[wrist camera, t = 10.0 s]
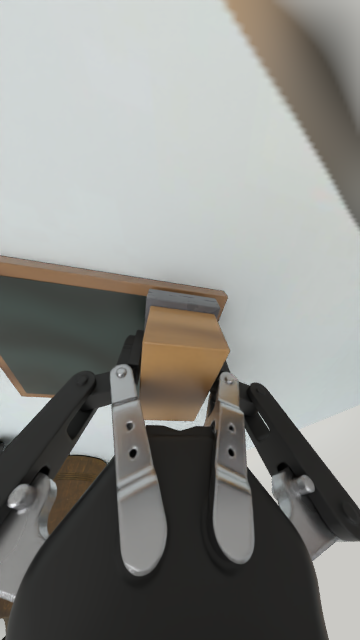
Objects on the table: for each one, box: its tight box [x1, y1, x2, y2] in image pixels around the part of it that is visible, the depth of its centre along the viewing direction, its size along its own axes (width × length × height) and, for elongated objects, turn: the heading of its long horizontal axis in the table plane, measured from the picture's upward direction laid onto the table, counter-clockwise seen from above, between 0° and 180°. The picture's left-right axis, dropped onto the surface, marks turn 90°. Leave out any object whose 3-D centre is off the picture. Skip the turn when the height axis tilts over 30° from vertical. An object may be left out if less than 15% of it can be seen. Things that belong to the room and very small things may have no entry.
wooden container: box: [0, 456, 106, 640], centre depth 32 cm, size 15×15×22 cm
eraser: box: [139, 289, 230, 421], centre depth 12 cm, size 9×5×5 cm, turn 169°
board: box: [0, 256, 228, 398], centre depth 17 cm, size 18×22×2 cm
